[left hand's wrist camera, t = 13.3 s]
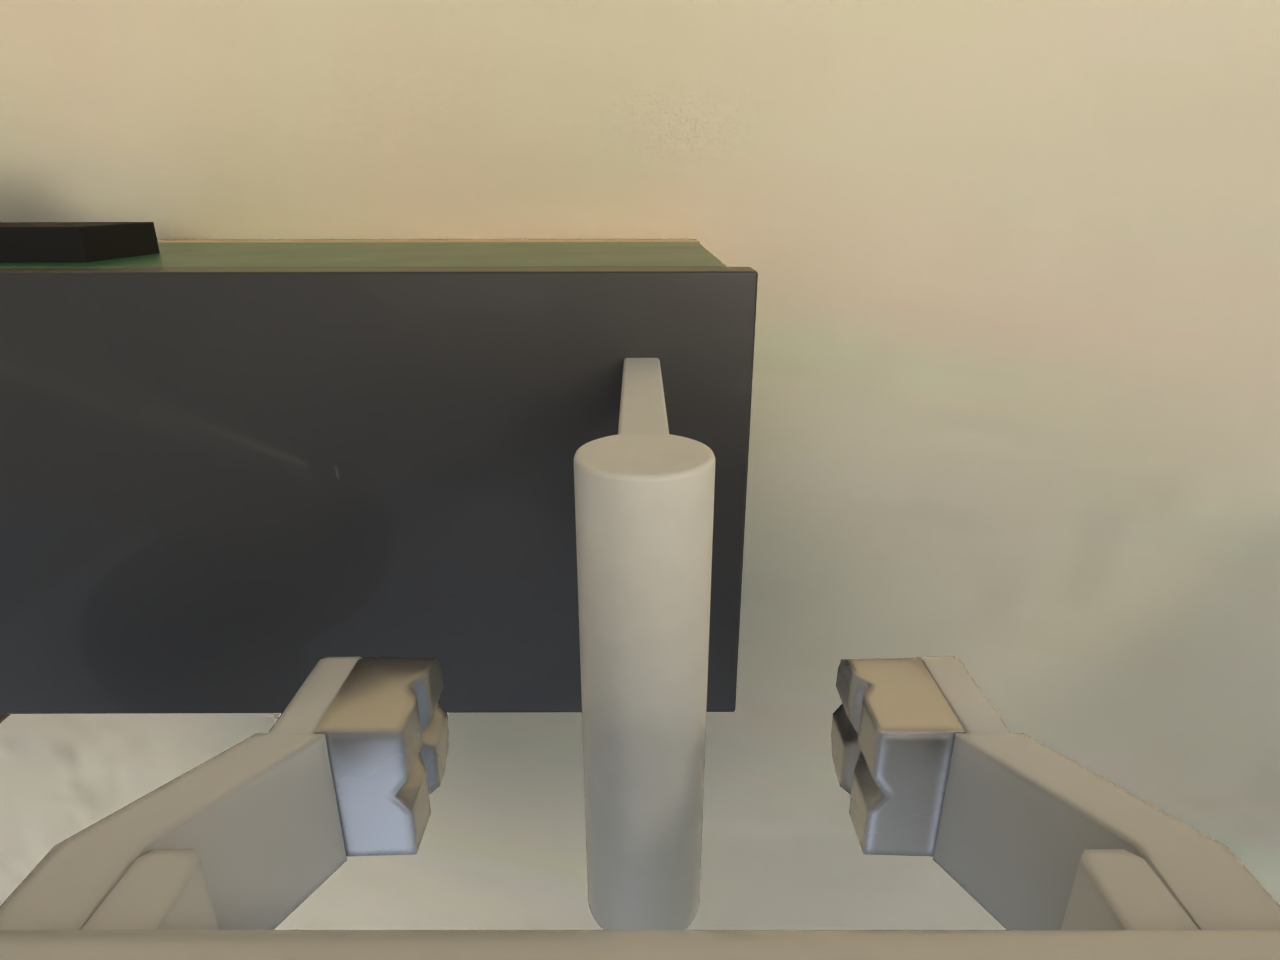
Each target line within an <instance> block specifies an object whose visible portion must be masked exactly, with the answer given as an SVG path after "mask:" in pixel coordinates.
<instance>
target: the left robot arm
mask: <svg viewBox="0 0 1280 960" xmlns="http://www.w3.org/2000/svg"><path fill="white" fill-rule="evenodd" d="M443 687H444V681H443V674H442V667H441V664H440V662H439V661H438V659H437V658H396V657H364V658H362V657H326V658H323V659H321V660H319V661H318V663H317V664H316V666H315V667H314V668H313V670H312V671H311V673H310V674H309V676H308V677H307V678H306V680H305V681H304V683H303V684H302V686H301V687H300V689H299V690H298V691H297V693H296V694H295V696H294V697H293V699H292V700H291V702H290V703H289V704H288V706H287V707H286V709H285V710H284V712H283V713H282V714H281V716H280V717H279V719H278V720H277V722H276V723H275V725H274V726H273V727H272V729H271V730H270V732H269V733H268V734H255V735H253V736H251V737H249V738H248V739H246V740H244V741H242V742H240V743H239V744H237V745H235V746H233V747H231V748H230V749H228V750H226V751H224V752H222V753H221V754H219V755H217V756H215V757H213V758H212V759H210V760H208V761H206V762H204V763H203V764H201V765H199V766H197V767H195V768H194V769H192V770H190V771H188V772H186V773H185V774H183V775H181V776H179V777H177V778H176V779H174V780H172V781H170V782H168V783H167V784H165V785H163V786H161V787H159V788H158V789H156V790H154V791H152V792H150V793H149V794H147V795H145V796H143V797H141V798H140V799H138V800H136V801H134V802H133V803H131V804H129V805H127V806H125V807H124V808H122V809H120V810H118V811H116V812H115V813H113V814H111V815H109V816H107V817H106V818H104V819H102V820H100V821H98V822H97V823H95V824H93V825H91V826H89V827H88V828H86V829H84V830H82V831H80V832H79V833H77V834H75V835H73V836H71V837H70V838H68V839H66V840H64V841H62V842H61V843H59V844H57V845H55V846H54V847H53V848H52V849H51V850H50V851H49V853H48V854H47V855H46V856H45V857H44V858H43V859H42V860H41V861H40V863H39V864H38V865H37V866H36V867H35V868H34V869H33V870H32V871H31V873H30V874H29V875H28V876H27V877H26V878H25V879H24V880H23V881H22V883H21V884H20V885H19V886H18V887H17V888H16V889H15V890H14V891H13V892H12V894H11V895H10V896H9V897H8V898H7V899H6V900H5V901H4V902H3V904H2V905H1V906H0V960H1280V905H1279V904H1278V903H1277V902H1276V901H1275V900H1274V899H1273V898H1272V897H1271V895H1270V894H1269V893H1268V892H1267V891H1266V890H1265V889H1264V888H1263V886H1262V885H1261V884H1260V883H1259V882H1258V881H1257V880H1256V879H1255V878H1254V876H1253V875H1252V874H1251V873H1250V872H1249V871H1248V870H1247V869H1246V868H1245V866H1244V865H1243V864H1242V863H1241V862H1240V861H1239V860H1238V859H1237V858H1236V856H1235V855H1234V854H1233V853H1232V852H1231V851H1230V850H1229V849H1228V847H1226V846H1224V845H1223V844H1221V843H1219V842H1217V841H1215V840H1214V839H1212V838H1210V837H1208V836H1206V835H1205V834H1203V833H1201V832H1199V831H1197V830H1196V829H1194V828H1192V827H1190V826H1188V825H1187V824H1185V823H1183V822H1181V821H1180V820H1178V819H1176V818H1174V817H1172V816H1171V815H1169V814H1167V813H1165V812H1163V811H1162V810H1160V809H1158V808H1156V807H1154V806H1153V805H1151V804H1149V803H1147V802H1145V801H1144V800H1142V799H1140V798H1138V797H1136V796H1135V795H1133V794H1131V793H1129V792H1128V791H1126V790H1124V789H1122V788H1120V787H1119V786H1117V785H1115V784H1113V783H1111V782H1110V781H1108V780H1106V779H1104V778H1102V777H1101V776H1099V775H1097V774H1095V773H1093V772H1092V771H1090V770H1088V769H1086V768H1084V767H1083V766H1081V765H1079V764H1077V763H1075V762H1074V761H1072V760H1070V759H1068V758H1067V757H1065V756H1063V755H1061V754H1059V753H1058V752H1056V751H1054V750H1052V749H1050V748H1049V747H1047V746H1045V745H1043V744H1041V743H1040V742H1038V741H1036V740H1034V739H1032V738H1031V737H1029V736H1027V735H1025V734H1012V733H1011V732H1010V730H1009V729H1008V727H1007V726H1006V724H1005V723H1004V722H1003V720H1002V719H1001V717H1000V716H999V715H998V713H997V712H996V710H995V709H994V707H993V706H992V705H991V703H990V702H989V700H988V699H987V697H986V696H985V695H984V693H983V692H982V690H981V689H980V687H979V686H978V685H977V683H976V682H975V680H974V679H973V677H972V676H971V675H970V673H969V672H968V670H967V669H966V668H965V666H964V665H963V663H962V662H961V660H959V659H958V658H956V657H954V656H943V657H916V658H891V659H841V662H840V665H839V668H838V673H837V681H836V687H837V690H838V692H839V695H840V698H841V700H842V703H843V704H842V705H841V706H840V707H839V708H838V709H837V710H836V711H835V712H834V713H833V720H832V733H831V738H832V756H833V761H834V766H835V771H836V774H837V777H838V781H839V784H840V786H841V787H842V788H843V789H844V790H846V791H847V792H848V793H850V794H851V801H850V809H849V814H850V816H851V819H852V822H853V825H854V828H855V831H856V834H857V836H858V839H859V842H860V845H861V848H862V851H863V854H871V855H907V856H934V857H933V860H934V861H935V862H936V863H937V864H938V865H939V866H940V867H941V868H942V869H944V870H945V871H946V872H947V873H948V874H949V875H950V876H951V877H952V878H953V879H954V880H955V881H956V882H957V883H958V884H959V885H960V886H961V887H962V888H964V889H965V890H966V891H967V892H968V893H969V894H970V895H971V896H972V897H973V898H974V899H975V900H976V901H977V902H978V903H979V904H980V905H981V906H982V907H983V908H985V909H986V910H987V911H988V912H989V913H990V914H991V915H992V916H993V917H994V918H995V919H996V920H997V921H998V922H999V923H1000V924H1001V925H1002V926H1003V927H1005V928H1006V929H1007V930H274V929H275V928H276V927H277V926H278V925H279V924H280V923H281V922H282V921H283V920H284V919H285V918H286V917H287V916H289V915H290V914H291V913H292V912H293V911H294V910H295V909H296V908H297V907H298V906H299V905H300V904H301V903H302V902H303V901H304V900H305V899H306V898H307V897H309V896H310V895H311V894H312V893H313V892H314V891H315V890H316V889H317V888H318V887H319V886H320V885H321V884H322V883H323V882H324V881H325V880H326V879H328V878H329V877H330V876H331V875H332V874H333V873H334V872H335V871H336V870H337V869H338V868H339V867H340V866H341V865H342V864H343V863H344V862H345V861H346V860H347V858H346V856H372V855H407V854H417V851H418V849H419V846H420V843H421V840H422V837H423V834H424V831H425V828H426V825H427V822H428V820H429V817H430V814H431V809H430V800H429V794H431V793H432V792H433V791H434V790H436V789H437V788H438V787H439V786H440V784H441V781H442V778H443V774H444V771H445V767H446V760H447V754H448V741H449V728H448V718H447V713H446V712H445V711H444V710H443V709H442V708H441V707H440V706H439V705H438V700H439V698H440V695H441V693H442V690H443Z"/></svg>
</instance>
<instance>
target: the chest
mask: <svg viewBox="0 0 1280 960" xmlns="http://www.w3.org/2000/svg"><path fill="white" fill-rule="evenodd" d="M157 242H158V247H159V251H160V253H157V254H149V255H141V256H133V257H125V258H117V259H109V260H101V261H93V262H4V263H0V268H302V267H727V266H725V265H724V264H723V263H722V262H721V261H719V260H718V259H717V258H716V257H715V256H713V255H712V254H711V253H710V252H709V251H707V250H706V249H705V248H704V247H703V246H701V245H700V244H699V241H698V240H696V239H505V240H157Z"/></svg>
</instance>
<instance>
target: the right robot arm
mask: <svg viewBox="0 0 1280 960" xmlns="http://www.w3.org/2000/svg"><path fill="white" fill-rule="evenodd" d="M157 253H160V251H159V247H158V242H157V237H156V233H155V228H154V223H153V222H37V223H0V263H4V262H93V261H101V260H109V259H117V258H125V257H133V256H141V255H149V254H157ZM9 715H10V714H1V713H0V723H1V722H2V721H3V720H4V719H5V718H7V717H8V716H9Z"/></svg>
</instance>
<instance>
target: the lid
mask: <svg viewBox="0 0 1280 960" xmlns="http://www.w3.org/2000/svg"><path fill="white" fill-rule="evenodd" d="M757 279H758V273H757V271H755V270H754V269H752V268H750V267H302V268H0V713H1V714H48V713H283V712H284V710H285V709H286V707H287V706H288V704H289V703H290V702H291V700H292V699H293V697H294V696H295V694H296V693H297V691H298V690H299V689H300V687H301V686H302V684H303V683H304V681H305V680H306V678H307V677H308V676H309V674H310V673H311V671H312V670H313V668H314V667H315V666H316V664H317V663H318V661H319V660H321V659H323V658H326V657H362V658H364V657H396V658H437V659H438V661H439V662H440V664H441V667H442V674H443V681H444V687H443V690H442V693H441V695H440V698H439V700H438V705H439V706H440V707H441V708H442V709H443V710H444V711H445V712H582V726H583V756H584V786H585V816H586V845H587V875H588V901H589V907H590V910H591V913H592V915H593V917H594V919H595V920H596V922H597V923H598V924H599V926H600V927H601V928H602V929H603V930H685V929H686V928H687V927H688V926H689V925H690V923H691V922H692V920H693V919H694V917H695V915H696V913H697V910H698V907H699V901H700V876H701V848H702V820H703V793H704V765H705V737H706V712H734V711H735V703H736V683H737V664H738V645H739V626H740V606H741V587H742V568H743V549H744V529H745V510H746V491H747V472H748V452H749V433H750V414H751V395H752V375H753V356H754V337H755V318H756V298H757Z"/></svg>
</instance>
